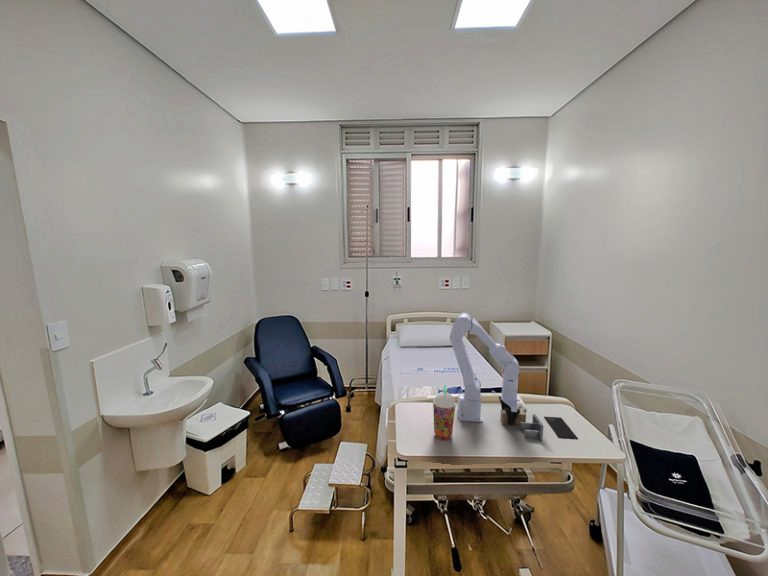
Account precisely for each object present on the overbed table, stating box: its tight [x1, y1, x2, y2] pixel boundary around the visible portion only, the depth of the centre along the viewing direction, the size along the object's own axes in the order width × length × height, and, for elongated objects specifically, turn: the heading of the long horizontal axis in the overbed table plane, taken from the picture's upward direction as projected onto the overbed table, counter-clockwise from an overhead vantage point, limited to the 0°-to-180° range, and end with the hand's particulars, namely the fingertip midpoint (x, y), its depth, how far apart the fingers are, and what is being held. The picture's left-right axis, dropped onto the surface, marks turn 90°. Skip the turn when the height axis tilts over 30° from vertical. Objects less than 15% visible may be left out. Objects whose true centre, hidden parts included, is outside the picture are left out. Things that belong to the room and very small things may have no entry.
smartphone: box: [543, 416, 579, 440], centre depth 126 cm, size 7×1×15 cm
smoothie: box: [432, 385, 457, 441], centre depth 119 cm, size 8×8×20 cm
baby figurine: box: [517, 393, 526, 411], centre depth 141 cm, size 9×12×8 cm
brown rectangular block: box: [499, 408, 527, 427], centre depth 129 cm, size 9×3×5 cm, turn 84°
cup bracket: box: [519, 413, 544, 442], centre depth 121 cm, size 6×8×6 cm
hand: (507, 419), depth 129 cm, fingers open, 7 cm apart
